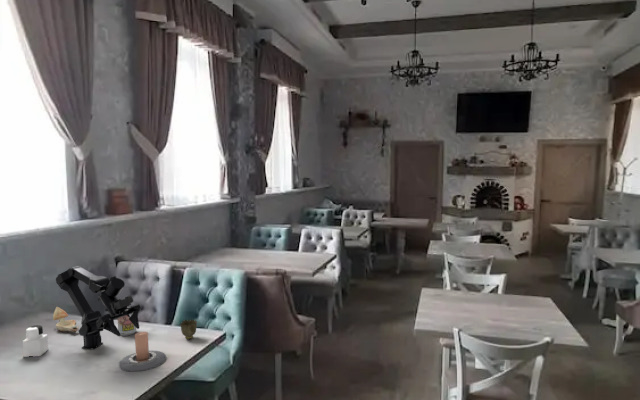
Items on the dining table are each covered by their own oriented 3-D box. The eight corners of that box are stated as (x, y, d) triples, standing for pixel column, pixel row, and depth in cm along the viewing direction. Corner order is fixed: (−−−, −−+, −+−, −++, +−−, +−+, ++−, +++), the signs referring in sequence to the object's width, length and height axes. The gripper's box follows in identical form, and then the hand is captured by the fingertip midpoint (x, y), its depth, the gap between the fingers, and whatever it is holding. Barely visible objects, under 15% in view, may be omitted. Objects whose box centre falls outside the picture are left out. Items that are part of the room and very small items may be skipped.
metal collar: (123, 364, 180) (123, 361, 179) (138, 353, 190) (138, 350, 190) (147, 366, 178) (147, 363, 178) (161, 354, 188) (161, 352, 188)
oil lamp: (67, 323, 232) (65, 304, 231) (85, 332, 219) (84, 312, 218) (48, 328, 225) (47, 308, 225) (66, 337, 212) (65, 317, 211)
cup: (192, 342, 203) (191, 325, 203) (178, 341, 205) (177, 324, 204) (200, 335, 211) (199, 319, 210) (186, 335, 212) (185, 318, 211)
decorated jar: (137, 328, 222) (136, 304, 221) (140, 333, 215) (139, 309, 214) (117, 332, 217) (116, 308, 217) (119, 337, 210) (118, 313, 209)
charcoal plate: (109, 370, 177) (109, 368, 177) (135, 351, 194) (135, 349, 194) (151, 372, 174) (150, 370, 173) (173, 353, 191) (173, 351, 191)
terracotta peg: (135, 363, 181) (134, 337, 180) (136, 358, 185) (135, 332, 184) (149, 361, 182) (147, 335, 181) (149, 356, 187) (147, 330, 186)
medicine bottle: (32, 350, 198) (30, 324, 197) (48, 349, 198) (47, 323, 197) (22, 357, 191) (20, 330, 190) (40, 356, 191) (38, 329, 190)
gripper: (98, 297, 180) (117, 328, 175) (137, 285, 196) (156, 314, 191) (88, 313, 185) (106, 344, 180) (127, 300, 201) (144, 328, 196)
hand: (129, 331), depth 187 cm, fingers open, 9 cm apart
